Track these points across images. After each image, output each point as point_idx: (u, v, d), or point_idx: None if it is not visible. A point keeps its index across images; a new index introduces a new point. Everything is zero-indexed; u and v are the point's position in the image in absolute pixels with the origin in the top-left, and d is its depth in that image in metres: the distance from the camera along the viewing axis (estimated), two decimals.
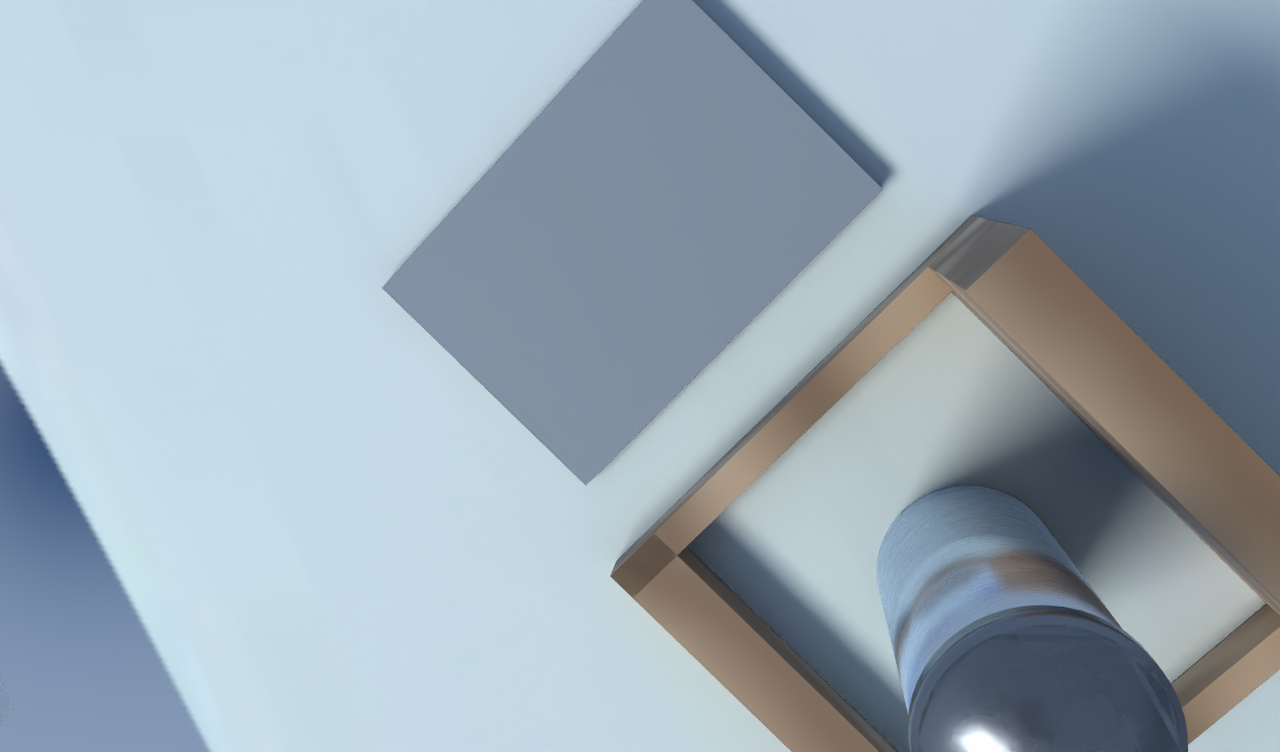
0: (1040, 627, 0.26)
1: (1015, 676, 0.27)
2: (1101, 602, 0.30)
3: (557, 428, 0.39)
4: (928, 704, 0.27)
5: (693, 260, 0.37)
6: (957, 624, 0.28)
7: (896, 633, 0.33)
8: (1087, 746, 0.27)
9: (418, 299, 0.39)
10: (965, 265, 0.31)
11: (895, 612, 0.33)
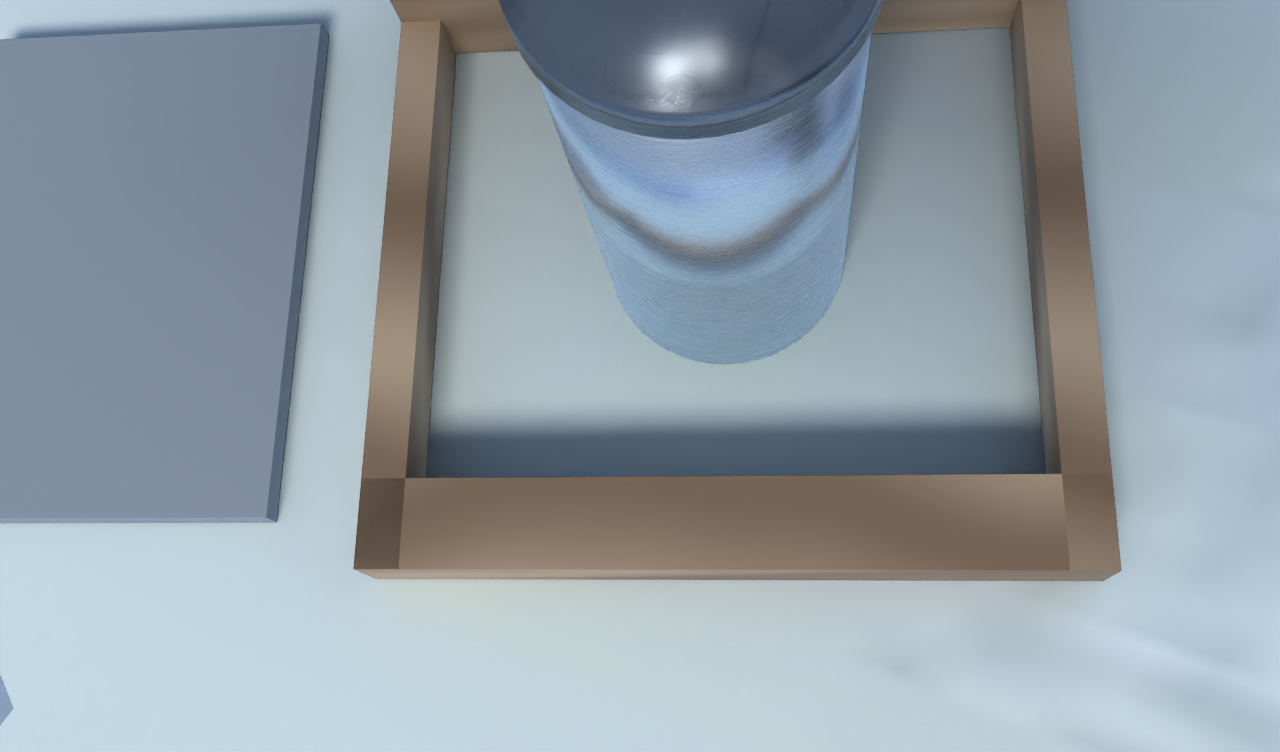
0: None
1: None
2: None
3: (190, 488, 0.28)
4: (519, 12, 0.18)
5: (201, 219, 0.30)
6: None
7: (590, 203, 0.23)
8: None
9: None
10: None
11: (592, 215, 0.24)
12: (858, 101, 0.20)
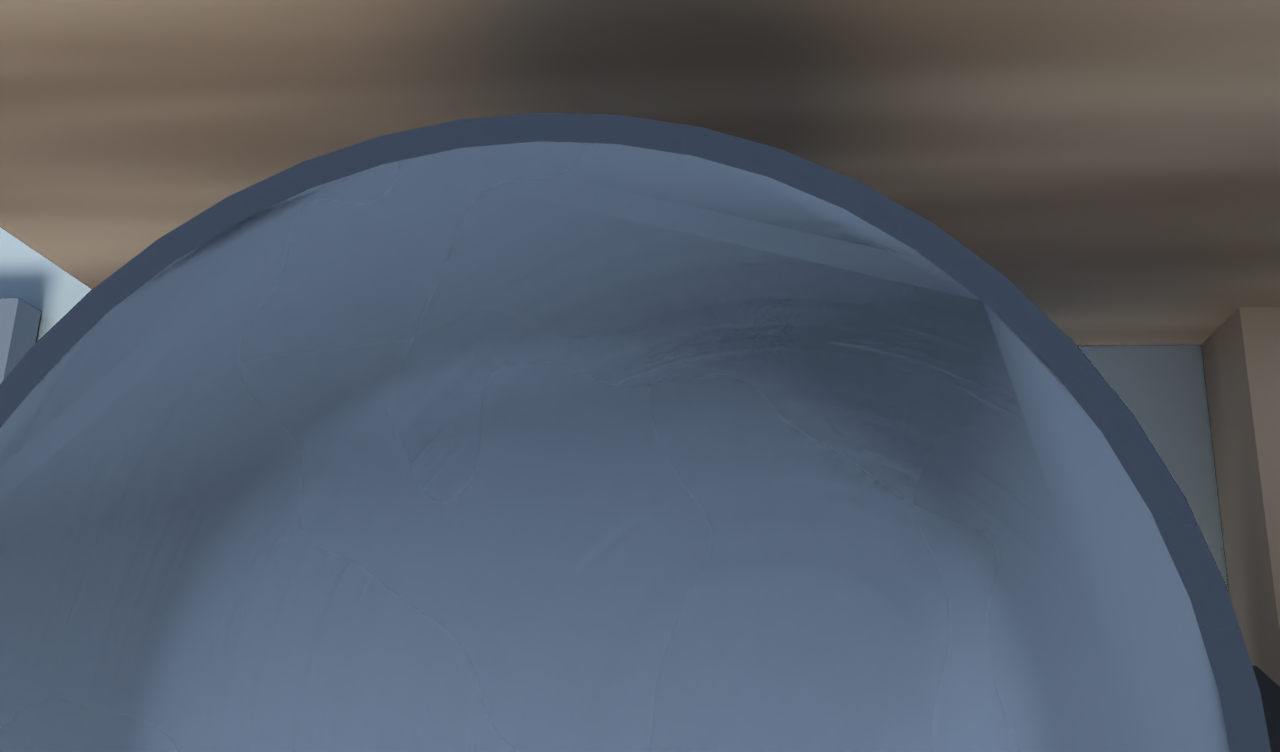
0: (75, 357, 0.06)
1: (133, 612, 0.05)
2: None
3: None
4: None
5: None
6: None
7: None
8: (644, 617, 0.05)
9: None
10: None
11: None
12: None
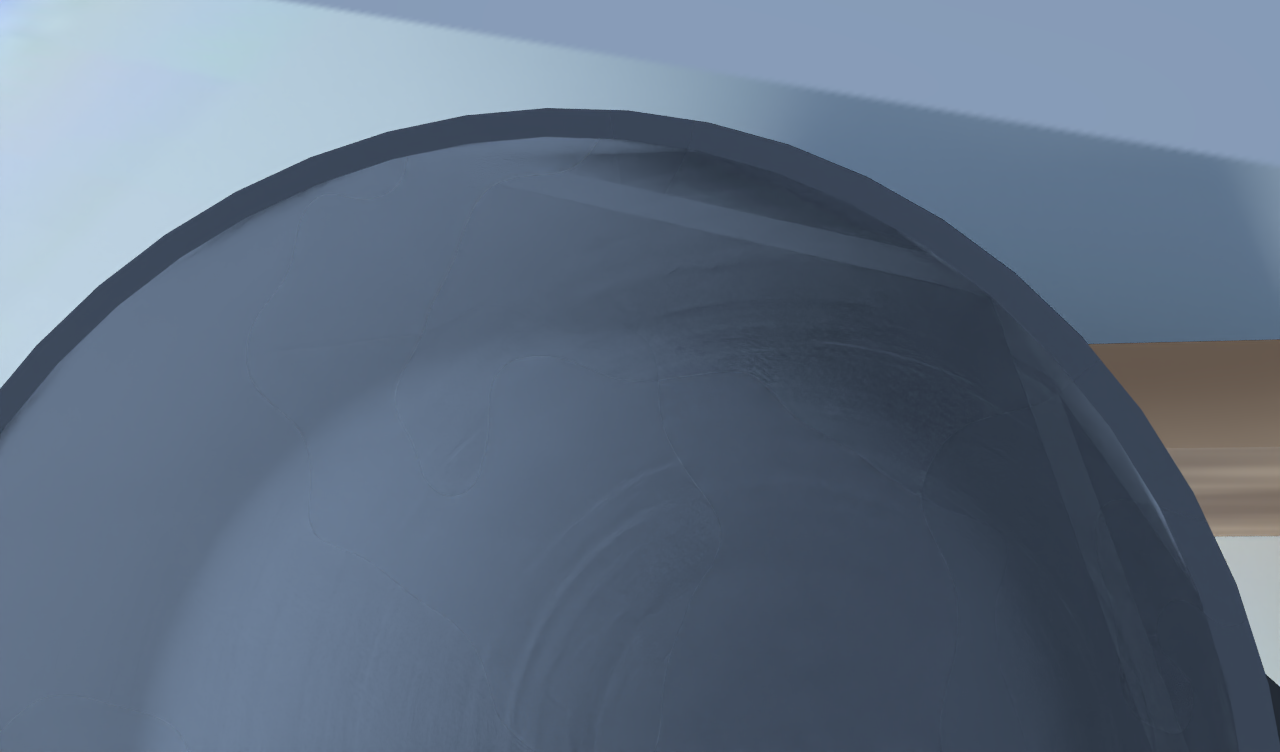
0: (84, 352, 0.06)
1: (142, 607, 0.05)
2: None
3: None
4: None
5: None
6: None
7: None
8: (654, 612, 0.05)
9: None
10: None
11: None
12: None
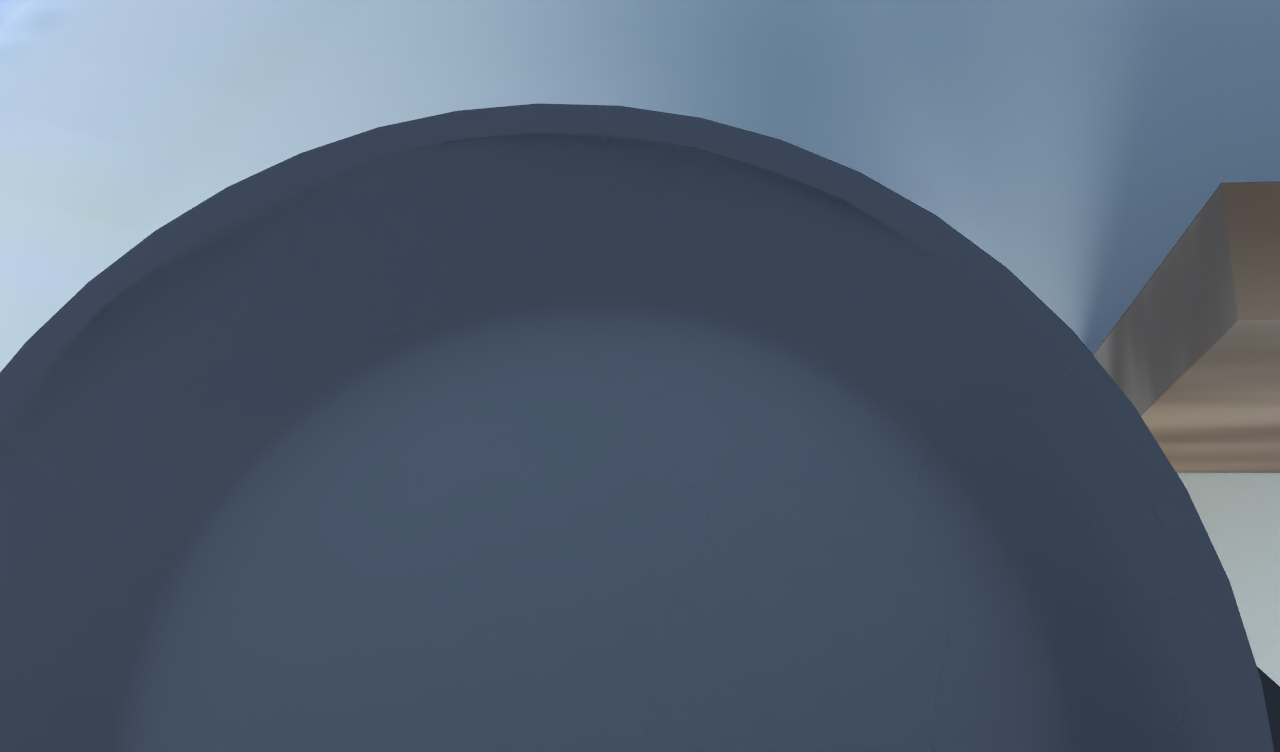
0: (73, 348, 0.06)
1: (131, 603, 0.05)
2: None
3: None
4: None
5: None
6: None
7: None
8: (643, 608, 0.05)
9: None
10: (1172, 349, 0.19)
11: None
12: None
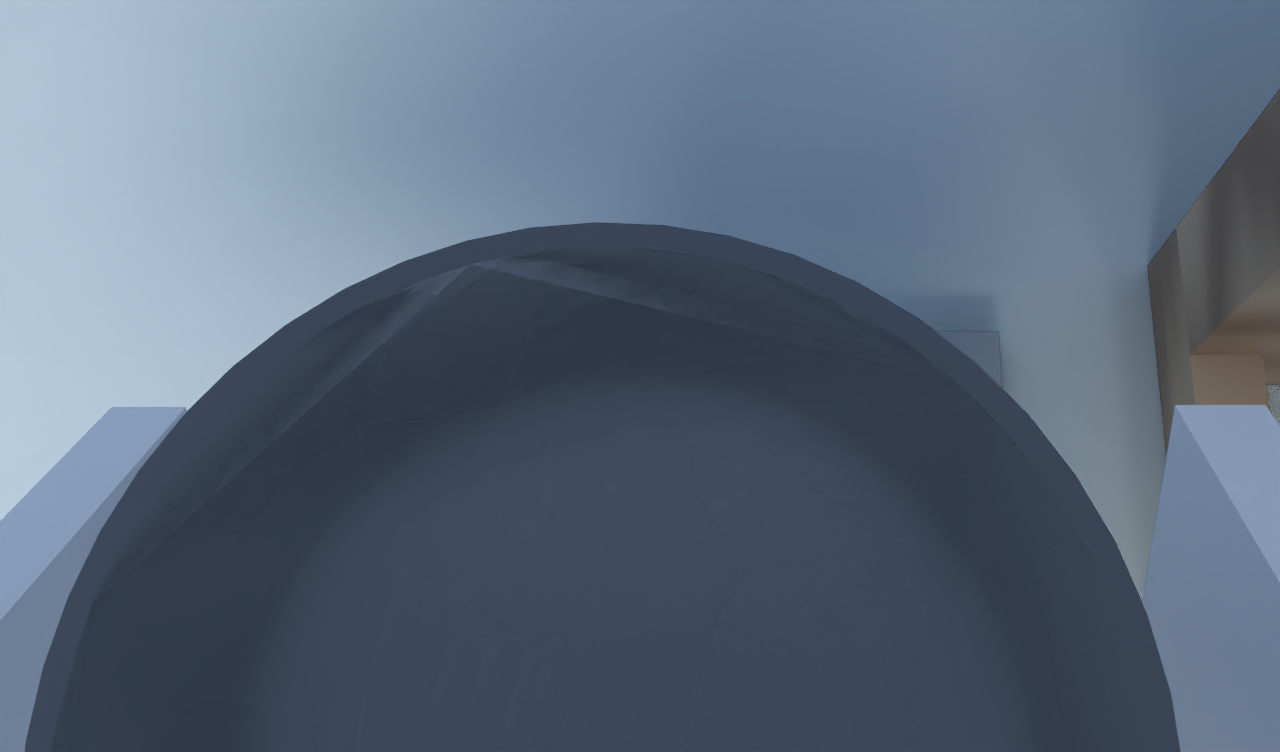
0: (221, 422, 0.07)
1: (275, 630, 0.07)
2: None
3: None
4: None
5: None
6: None
7: None
8: (687, 635, 0.06)
9: None
10: None
11: None
12: None
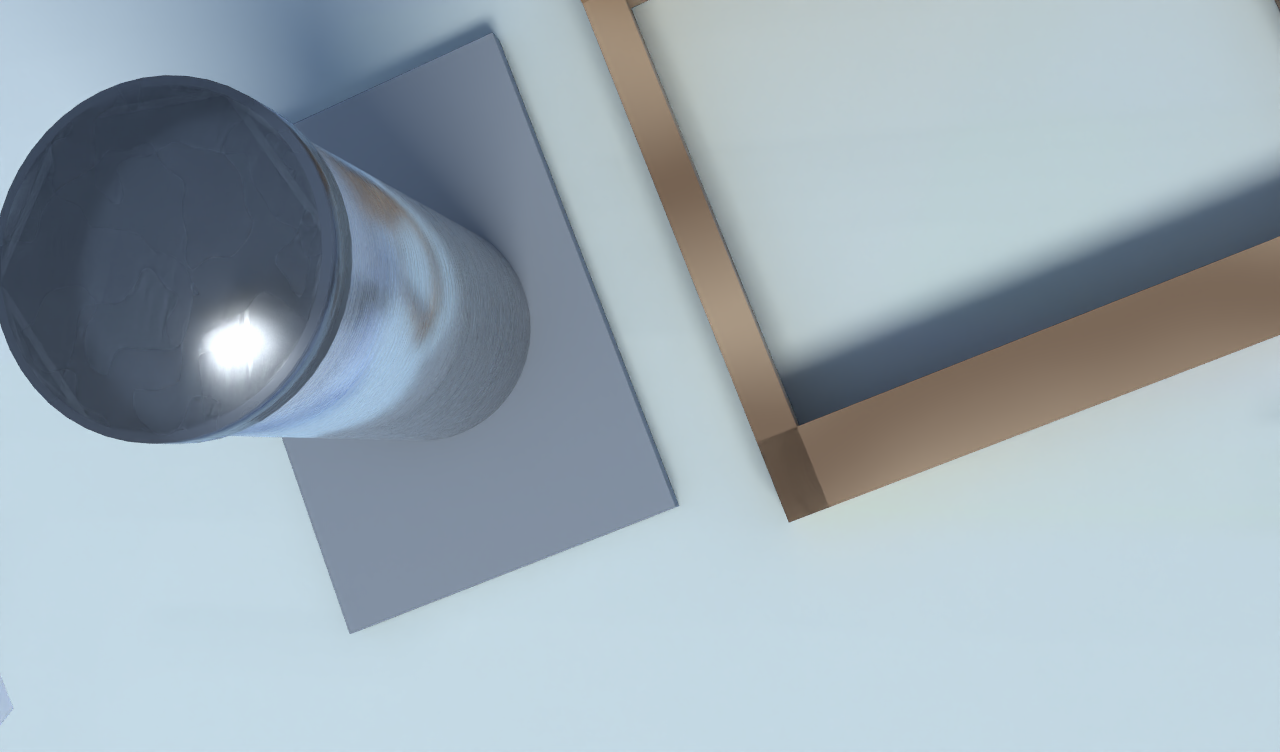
0: (13, 209, 0.20)
1: (58, 263, 0.20)
2: None
3: (594, 508, 0.30)
4: (50, 385, 0.20)
5: None
6: None
7: None
8: (174, 208, 0.19)
9: (380, 598, 0.31)
10: None
11: None
12: (401, 281, 0.22)
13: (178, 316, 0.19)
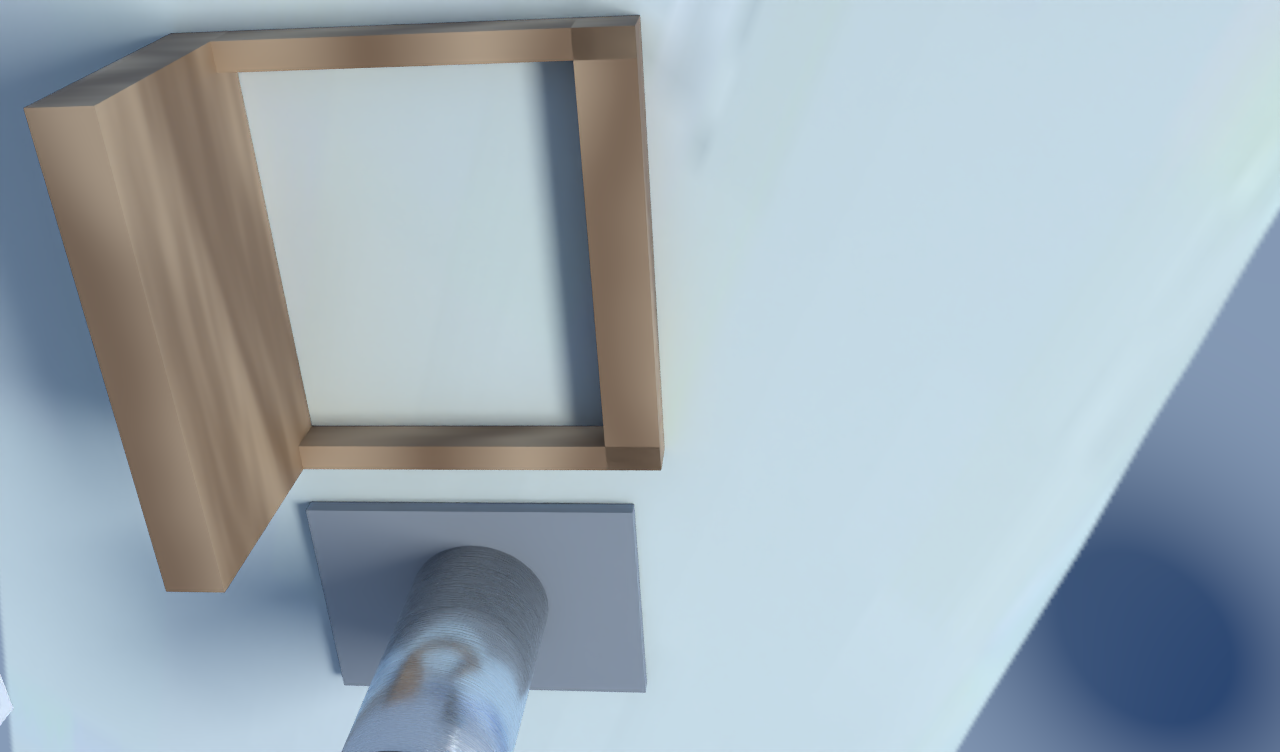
0: None
1: None
2: None
3: (618, 553, 0.48)
4: None
5: None
6: None
7: None
8: None
9: (630, 672, 0.50)
10: None
11: None
12: (445, 703, 0.41)
13: None
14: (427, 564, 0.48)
